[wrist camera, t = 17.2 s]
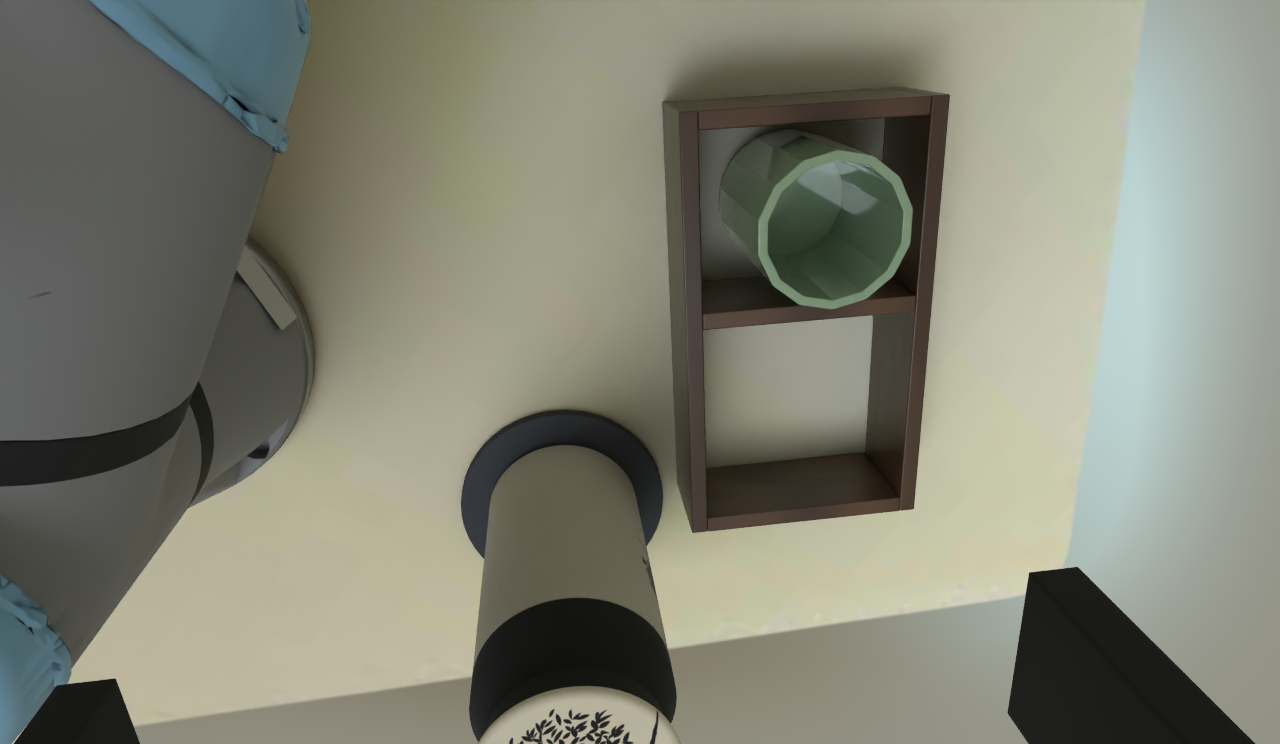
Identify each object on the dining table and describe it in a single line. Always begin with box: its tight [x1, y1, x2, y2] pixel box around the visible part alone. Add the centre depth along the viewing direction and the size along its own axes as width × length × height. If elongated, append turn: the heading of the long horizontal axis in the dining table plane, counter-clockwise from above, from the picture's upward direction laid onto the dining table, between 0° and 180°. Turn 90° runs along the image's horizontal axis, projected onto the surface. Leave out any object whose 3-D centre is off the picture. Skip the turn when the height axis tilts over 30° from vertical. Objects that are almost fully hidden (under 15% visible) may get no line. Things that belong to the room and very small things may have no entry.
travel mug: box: [469, 445, 680, 744], centre depth 37 cm, size 8×8×18 cm
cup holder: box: [662, 87, 950, 533], centre depth 41 cm, size 12×20×5 cm, turn 3°
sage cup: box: [719, 129, 913, 309], centre depth 37 cm, size 6×6×8 cm
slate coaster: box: [461, 411, 663, 558], centre depth 46 cm, size 11×11×1 cm
